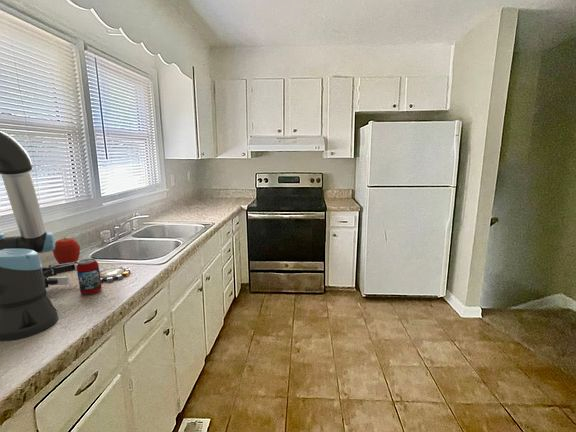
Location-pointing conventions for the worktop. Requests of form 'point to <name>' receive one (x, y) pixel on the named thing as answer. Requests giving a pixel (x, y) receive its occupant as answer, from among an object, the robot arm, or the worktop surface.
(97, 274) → the beverage can
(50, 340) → the worktop surface
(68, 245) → the apple
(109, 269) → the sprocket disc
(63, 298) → the worktop surface
